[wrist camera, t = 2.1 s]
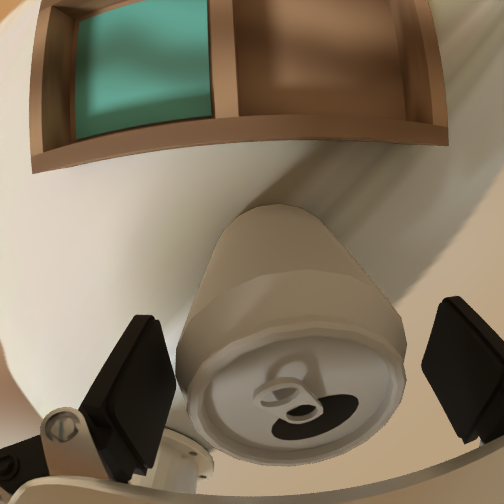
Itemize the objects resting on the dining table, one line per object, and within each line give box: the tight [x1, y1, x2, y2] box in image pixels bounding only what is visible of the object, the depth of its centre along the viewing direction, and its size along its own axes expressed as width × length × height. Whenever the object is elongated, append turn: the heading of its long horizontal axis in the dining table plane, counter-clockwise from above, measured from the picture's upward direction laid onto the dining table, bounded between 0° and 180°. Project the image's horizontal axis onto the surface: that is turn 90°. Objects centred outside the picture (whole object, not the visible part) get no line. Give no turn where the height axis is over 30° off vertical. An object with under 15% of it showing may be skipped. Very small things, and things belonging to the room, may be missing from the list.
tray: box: [29, 0, 449, 174], centre depth 12 cm, size 12×22×4 cm, turn 93°
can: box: [175, 204, 407, 466], centre depth 13 cm, size 8×8×12 cm
